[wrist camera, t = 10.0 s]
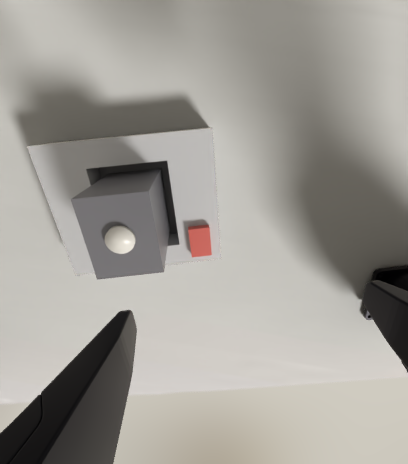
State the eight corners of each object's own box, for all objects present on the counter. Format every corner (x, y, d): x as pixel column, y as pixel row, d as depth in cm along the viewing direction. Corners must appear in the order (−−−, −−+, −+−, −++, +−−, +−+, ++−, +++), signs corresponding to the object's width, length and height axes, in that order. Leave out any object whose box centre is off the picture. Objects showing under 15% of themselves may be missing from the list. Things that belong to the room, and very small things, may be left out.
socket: (209, 127, 18) (213, 128, 15) (217, 244, 22) (222, 262, 19) (47, 143, 18) (20, 147, 15) (86, 259, 22) (72, 279, 19)
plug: (161, 168, 19) (148, 192, 12) (170, 226, 21) (163, 274, 14) (109, 173, 19) (67, 201, 12) (124, 231, 21) (95, 282, 14)
